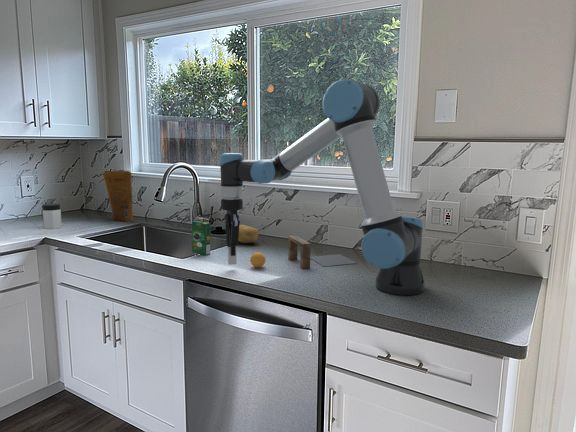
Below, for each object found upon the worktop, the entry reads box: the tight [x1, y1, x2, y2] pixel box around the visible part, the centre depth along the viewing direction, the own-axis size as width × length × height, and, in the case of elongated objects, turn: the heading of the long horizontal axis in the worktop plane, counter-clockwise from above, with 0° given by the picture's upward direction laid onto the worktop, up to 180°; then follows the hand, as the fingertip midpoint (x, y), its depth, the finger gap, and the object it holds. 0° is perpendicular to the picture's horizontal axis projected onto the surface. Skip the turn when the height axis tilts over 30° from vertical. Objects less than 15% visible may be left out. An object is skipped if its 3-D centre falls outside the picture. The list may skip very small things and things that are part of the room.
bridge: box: [287, 234, 312, 270], centre depth 167 cm, size 3×14×9 cm, turn 21°
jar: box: [41, 202, 63, 230], centre depth 228 cm, size 9×8×12 cm
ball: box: [250, 251, 267, 268], centre depth 162 cm, size 6×6×6 cm
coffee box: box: [191, 220, 211, 256], centre depth 180 cm, size 8×3×13 cm, turn 57°
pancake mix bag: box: [102, 170, 134, 223], centre depth 249 cm, size 7×19×28 cm, turn 64°
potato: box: [238, 224, 259, 244], centre depth 200 cm, size 10×14×8 cm
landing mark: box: [310, 253, 358, 268], centre depth 173 cm, size 14×14×1 cm
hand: (232, 263), depth 159 cm, fingers closed
